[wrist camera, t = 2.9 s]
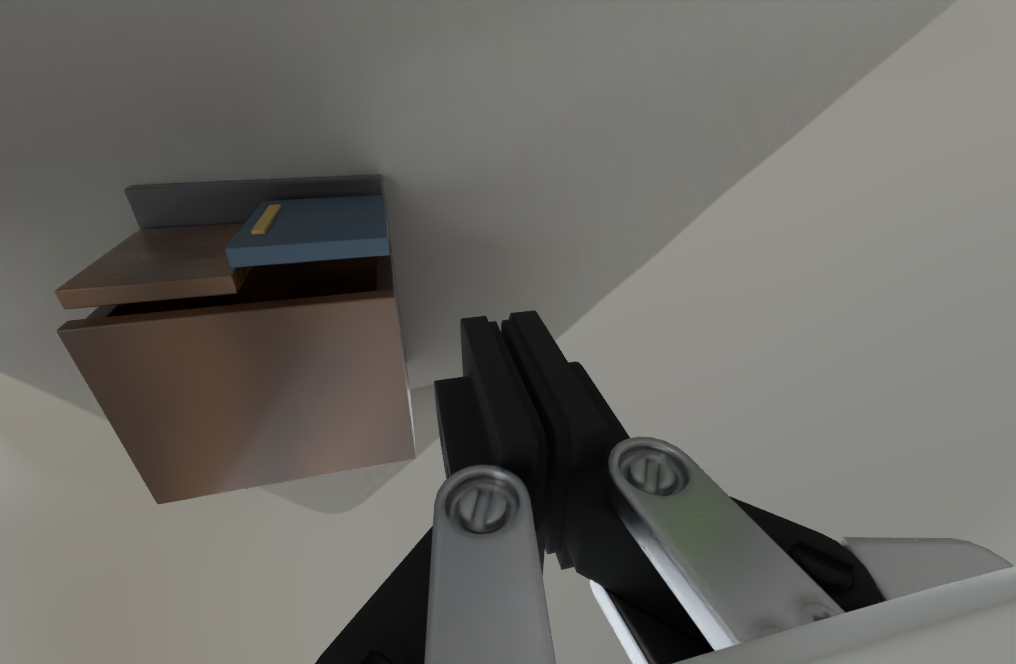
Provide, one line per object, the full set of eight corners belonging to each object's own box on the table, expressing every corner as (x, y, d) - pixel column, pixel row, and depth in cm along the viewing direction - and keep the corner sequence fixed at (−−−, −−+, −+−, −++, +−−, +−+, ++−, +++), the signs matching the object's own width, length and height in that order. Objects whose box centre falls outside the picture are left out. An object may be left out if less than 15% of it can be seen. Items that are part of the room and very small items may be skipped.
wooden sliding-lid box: (213, 389, 29) (156, 505, 21) (130, 185, 22) (6, 248, 15) (406, 363, 31) (416, 459, 24) (381, 174, 25) (384, 223, 17)
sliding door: (266, 216, 23) (230, 268, 18) (261, 197, 23) (222, 244, 17) (386, 209, 25) (389, 255, 19) (383, 191, 24) (386, 232, 18)
